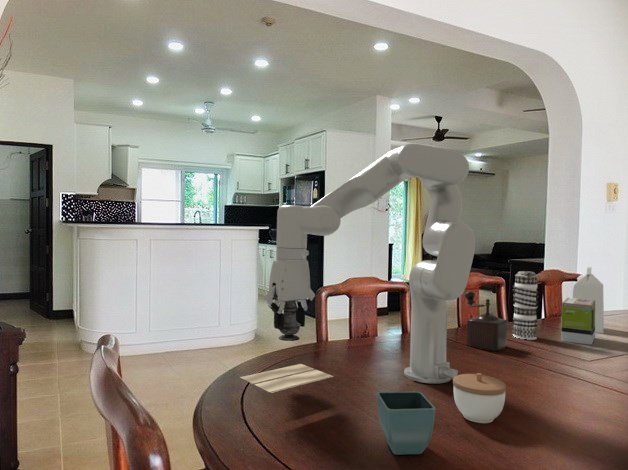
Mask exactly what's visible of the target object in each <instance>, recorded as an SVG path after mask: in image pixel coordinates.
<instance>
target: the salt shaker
mask: <svg viewBox="0 0 628 470" xmlns="http://www.w3.org/2000/svg"><path fill="white" fill-rule="evenodd" d="M296 307H297V305H296V301H288V302H285V305H284V308H283V314H284V329H283V330H279V331H280V333H281V335H280V336H278V340H279V341H280V340H281V341H284V342H295V341H299V340H300V337H299V336H298V335H297V334H298V333H299V331H300V329H301V324H300V323H298V322H297V321H296V310H297V309H298V308H296Z"/></svg>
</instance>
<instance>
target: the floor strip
mask: <svg viewBox="0 0 628 470" xmlns="http://www.w3.org/2000/svg"><path fill="white" fill-rule="evenodd" d="M312 370H316V368H314V367H310V366H308V365H305V364H302V363H298V364H293V365H290V366H289V365H287V366H285V367H281V368H275V369H272V370H271V369H270V370H267V371H261V372H258V373H253V374H250V375H249V374H248V375H244V376H240V377H239V378H240V379H242V380H244V381H245V382H248V383H249V384H252V385H255V384H259V383H263V382H267V381H271V380H275V379H279V378H284V377H288V376H292V375H296V374H300V373H304V372H308V371H312Z"/></svg>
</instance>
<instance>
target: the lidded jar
mask: <svg viewBox="0 0 628 470" xmlns="http://www.w3.org/2000/svg"><path fill="white" fill-rule="evenodd" d="M452 384H453V387H452V388H453V389H452V390H453V399H454V403H455V405H456V408H457V409H458V410H459V412H460V413H461V414H462V415H463V417H464V418H465V420H467V421H471V422H474V423H478V424H491V423H492V422H493V421H494V420H495V419H497V418H498V417H499V415H500V414H501V413H502V412H503V409H504V406H505V400H506V392H507V385H506V383H505V382H504V381H502V380H501V379H499V378H496V377H492V376H491V375H485V374H483V373H481V372H480V373H479V372H478V373H464V374H463V373H462V374H457V376H455V377H454V378H453V379H452Z"/></svg>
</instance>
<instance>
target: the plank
mask: <svg viewBox="0 0 628 470" xmlns="http://www.w3.org/2000/svg"><path fill="white" fill-rule="evenodd" d="M333 377H334V375H331V374H329V373H326V372H324V371H322V370H321V371H320V370H318V369H315V370H311V371H307V372H302V373H298V374H294V375H290V376H286V377H282V378H278V379H273V380H269V381H265V382H261V383H257V384H254V385H255V386H256V387H258V388H260V389H262V390H264V391H266V392H267V393H270V394H272V393H276V392H279V391H283V390H287V389H292V388H294V387H295V388H296V387H300V386H303V385H307V384H310V383H314V382H318V381H321V380H326V379H329V378H333ZM334 378H335V377H334Z"/></svg>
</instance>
